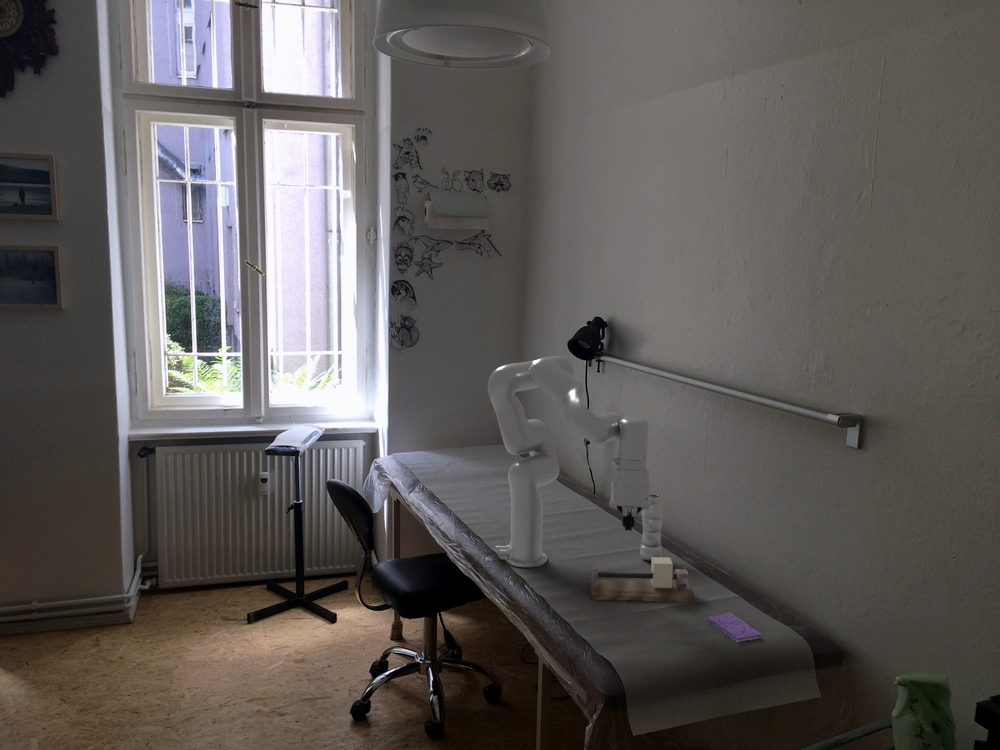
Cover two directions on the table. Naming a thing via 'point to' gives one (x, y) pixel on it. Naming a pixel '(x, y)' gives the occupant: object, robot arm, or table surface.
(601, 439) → the robot arm
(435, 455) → the table surface
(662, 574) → the cream foam block
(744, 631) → the sponges
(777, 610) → the table surface
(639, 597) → the wooden linear slide
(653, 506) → the plastic bottle
